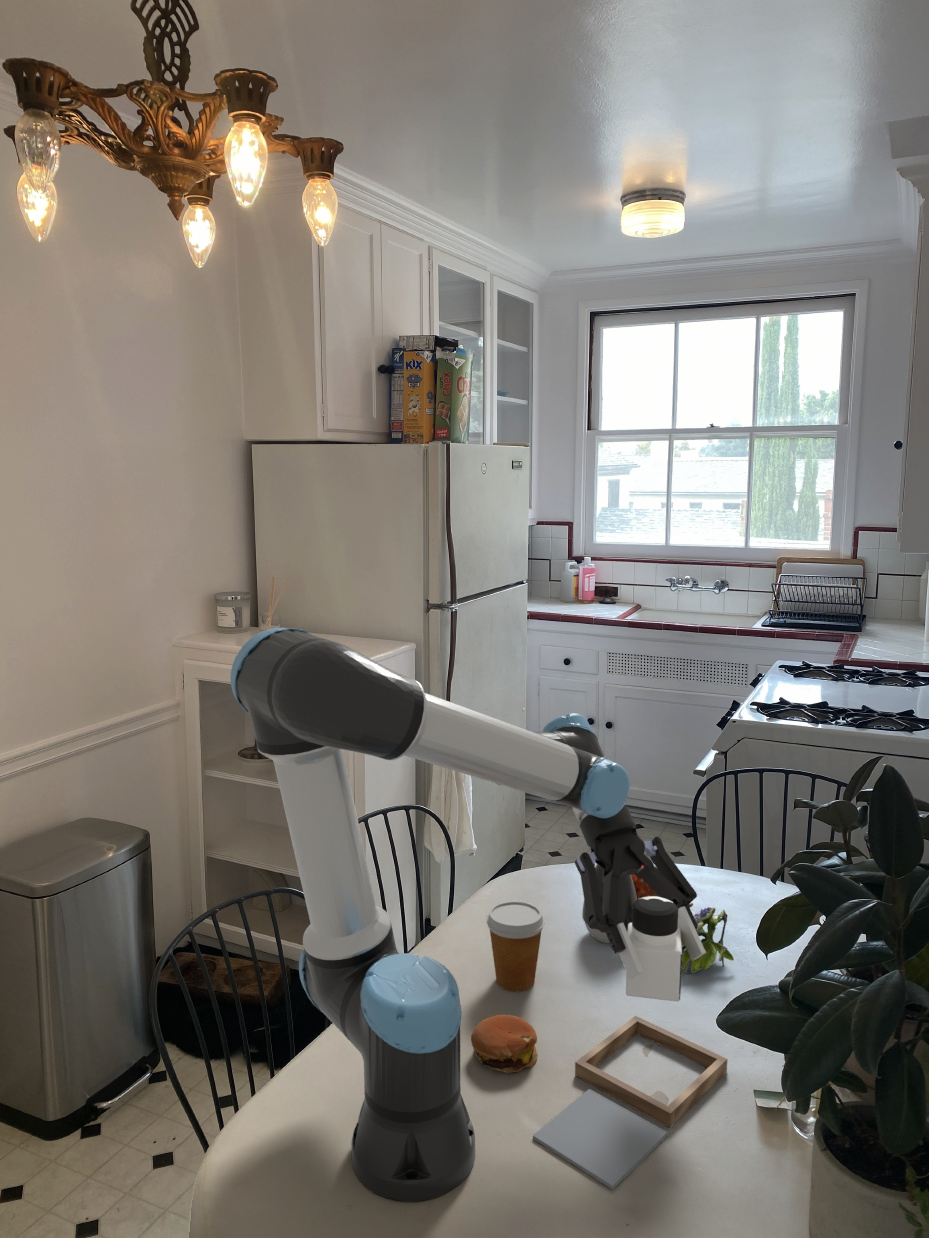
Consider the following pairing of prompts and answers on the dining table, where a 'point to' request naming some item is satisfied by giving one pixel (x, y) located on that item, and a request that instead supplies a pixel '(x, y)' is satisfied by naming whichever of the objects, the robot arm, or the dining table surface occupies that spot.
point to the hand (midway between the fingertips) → (668, 965)
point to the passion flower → (707, 941)
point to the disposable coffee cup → (515, 943)
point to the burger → (505, 1043)
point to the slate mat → (600, 1137)
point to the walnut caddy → (636, 1098)
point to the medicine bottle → (656, 949)
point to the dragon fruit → (643, 887)
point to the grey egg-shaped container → (625, 903)
